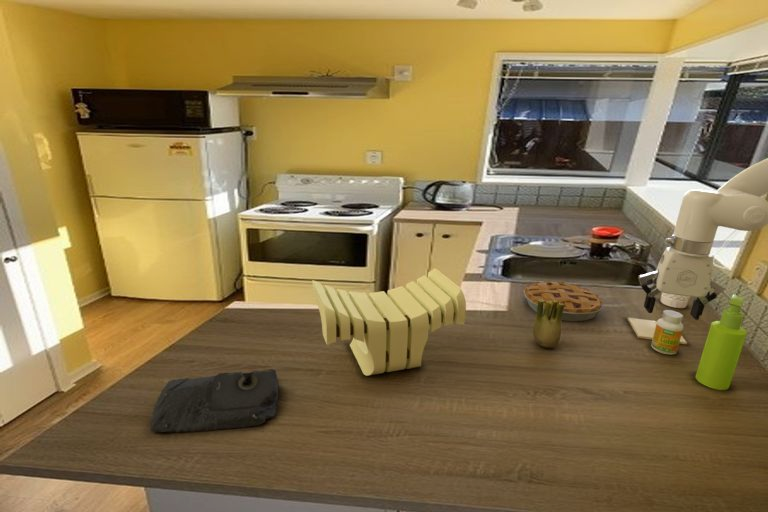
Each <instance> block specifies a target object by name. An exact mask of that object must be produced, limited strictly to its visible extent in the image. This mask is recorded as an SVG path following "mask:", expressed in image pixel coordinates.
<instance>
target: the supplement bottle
mask: <svg viewBox="0 0 768 512" xmlns="http://www.w3.org/2000/svg"><path fill="white" fill-rule="evenodd" d="M683 318H684V315H683V314H682V313H680V312H678V311H675V310H671V309H664V310H663V312H662V315H661V318H659V319H658V320H656V321H657V324H656V328H655V332H654V336H653V340H652V341H651V344H650V345H651V348H652V349H653V350H654V351H656V352H658V353H660V354H663V355H669V356H670V355H676V354H677V352H678V350H679V345H680V344H679V342H680V339H681V335H682V336H683V331H684V324H683V323H682V321H683Z"/></svg>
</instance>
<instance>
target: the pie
mask: <svg viewBox="0 0 768 512" xmlns="http://www.w3.org/2000/svg"><path fill="white" fill-rule="evenodd" d="M523 295H524V298H525V299H526V301H527V303H528V306H529V307H530V308H531V309H533V311H534V312H536V313H537V307H538V300H543V314H544V310H545V305H546V301H552V303H551V309H550V313H549V316H550V314H551V310H552V305H553V300H556V301H558V304H559V302H560V303H563V304H564V305H565V306H564V309H563V313H562V317H561V321H565V322H566V321H568V322H583V321H584V322H585V321H588V320H591V319H594V318H595V316H596V315H597V314H598V313H599V312H601V311H602V309H603V308H604V304H603V301H602V298H600V297H599V295H598V294H597V293H595V292H592V291H590V289H588V288H586V287H580V286H579V285H578V284H575V283H571V284H569V283H565V282H564V281H560V280H559V281H557V282H553V281H551V280H545V281H544V282H543V281H542V282H541V281H534V282H532V283H528V284H526V287H525V288H524V289H523ZM558 304H557V307H558Z"/></svg>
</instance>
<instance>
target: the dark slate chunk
mask: <svg viewBox="0 0 768 512" xmlns="http://www.w3.org/2000/svg"><path fill="white" fill-rule="evenodd" d="M277 377H278V376H277V371H276V370H275V369H273V368H271V369H266V370H254V371H251V372H242V371H238V372H237V371H235V372H219V373H217V375H211V376H199V377H196V378H195V377H194V378H188V377H187V378H176V379H172V380H169V381H168V382H166V384H165V385H164V387H163V388H162V390H161V392H160V394H159V396H158V397H157V399H156V402H155V405H154V406H153V412H152V417H151V418H150V420H149V422H150V423H149V425H150V431H151V432H154V433H155V432H159V433H170V434H171V433H177V434H178V433H181V432H182V433H187V432H190V433H194V432H208V431H218V430H225V429H227V430H230V429H236V428H238V429H239V428H249V427H255V426H260V425H263V424H264V423H265V422H266V420H267V419H271V418H272V419H273V418H275V416H276V413H277V410H278V408H277V406H276V403H277V401H278V399H279V398H278V397H279V396H278V395H279V394H278V392H279V382H278V381H279V380H278V378H277ZM248 383H250V385H247V384H248Z"/></svg>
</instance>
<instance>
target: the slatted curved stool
mask: <svg viewBox="0 0 768 512" xmlns="http://www.w3.org/2000/svg"><path fill="white" fill-rule="evenodd" d="M311 281H312V293H313V296H314V298H315V302H316V304H317V307H318V311H319V315H320V320H321V329H322V330H321V331H322V337H323V339H324V342H325V344H326V346H329V345H332V344H334V343H337V338H339V339H340V341H341V342H342V341H349V340H351V336H352V337H353V338H352V341H351V342H350V343H349V347H350V349H351V352H352V353H353V355H354V357H355V359H356V362H357V363H358V365H359V368H360V369H361V372H362V374H363V375H365V376H367V377H368V376H373V375H379V374H384V373H392V372H397V371H402V370H403V371H404V370H405V369H407V370H408V369H409V370H410V369H413V368H420V367H422V358H423V353H424V351H425V350H424V349H425V347H426V344H427V342H428V340H429V330H430V332H431V333H434V332H435V331H437V330H438V329H440V328H442V325H444V327H446V326H453V325H454V324H455V325H457V326H465V324H466V323H465V321H466V312H467V301H466V297H465V294H464V292H463V290H462V288H461V287H460V286H459V285H457V284H456V283H455V282H454V281H453V280H451V279H450V278H449V277H447V276H446V275H444V273H442V272H441V271H440V270H438V269H437V268H436V267H435V268H433V269H431V270H430V271H428V272H427V275H425V274H424V275H422V276H420V277H418V278H416V282H415V281H414V280H412V281H410V282H408V283H406V284H405V287H404V286H403V285H400V286H397V287H395V288H394V287H393V288H391V289H388V290H387V292H385V291H384V290H383V291H382V290H381V291H373V292H368V295H367V293H366V292H359V291H348V292H349V293H347V291H346V290H345V289H340V288H337V289H336V290H337V291H335V289H334V287H332V286H329V285H326V284H324V287H323V285H322V283H321V282H320V281H319V282H318V281H316V280H313V279H312V280H311Z"/></svg>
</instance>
